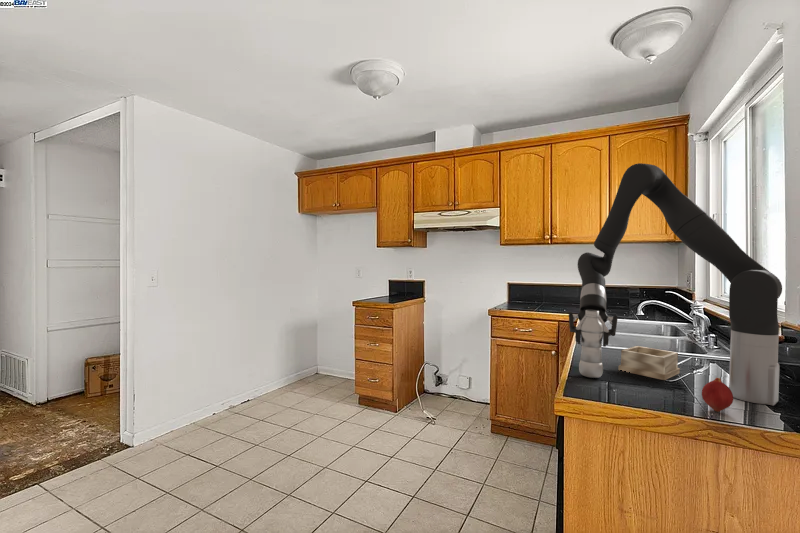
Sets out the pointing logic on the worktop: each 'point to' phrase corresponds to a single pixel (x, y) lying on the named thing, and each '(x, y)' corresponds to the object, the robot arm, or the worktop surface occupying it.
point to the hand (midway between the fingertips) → (591, 343)
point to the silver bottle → (591, 345)
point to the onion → (717, 395)
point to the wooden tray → (649, 362)
